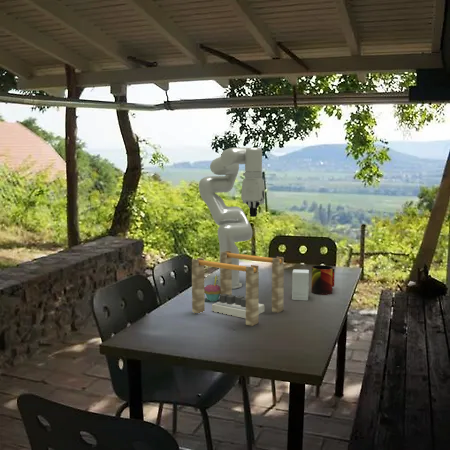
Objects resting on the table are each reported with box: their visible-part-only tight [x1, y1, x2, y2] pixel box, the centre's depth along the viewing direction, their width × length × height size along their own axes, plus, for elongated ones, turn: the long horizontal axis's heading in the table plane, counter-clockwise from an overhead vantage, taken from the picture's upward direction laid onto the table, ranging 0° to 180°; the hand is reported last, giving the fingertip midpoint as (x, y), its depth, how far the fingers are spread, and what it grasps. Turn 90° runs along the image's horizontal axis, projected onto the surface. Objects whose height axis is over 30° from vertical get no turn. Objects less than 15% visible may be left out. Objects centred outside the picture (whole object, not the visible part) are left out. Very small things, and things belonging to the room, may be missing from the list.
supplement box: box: [291, 268, 310, 302], centre depth 223 cm, size 7×7×13 cm
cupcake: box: [204, 274, 221, 302], centre depth 221 cm, size 9×8×12 cm
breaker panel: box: [211, 294, 265, 319], centre depth 204 cm, size 18×12×6 cm, turn 55°
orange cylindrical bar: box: [227, 253, 282, 264], centre depth 210 cm, size 29×2×2 cm, turn 55°
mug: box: [310, 264, 336, 296], centre depth 236 cm, size 10×14×12 cm
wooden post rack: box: [191, 251, 285, 327], centre depth 203 cm, size 29×24×22 cm
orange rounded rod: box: [199, 260, 256, 273], centre depth 194 cm, size 29×2×2 cm, turn 55°
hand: (253, 216), depth 222 cm, fingers closed
